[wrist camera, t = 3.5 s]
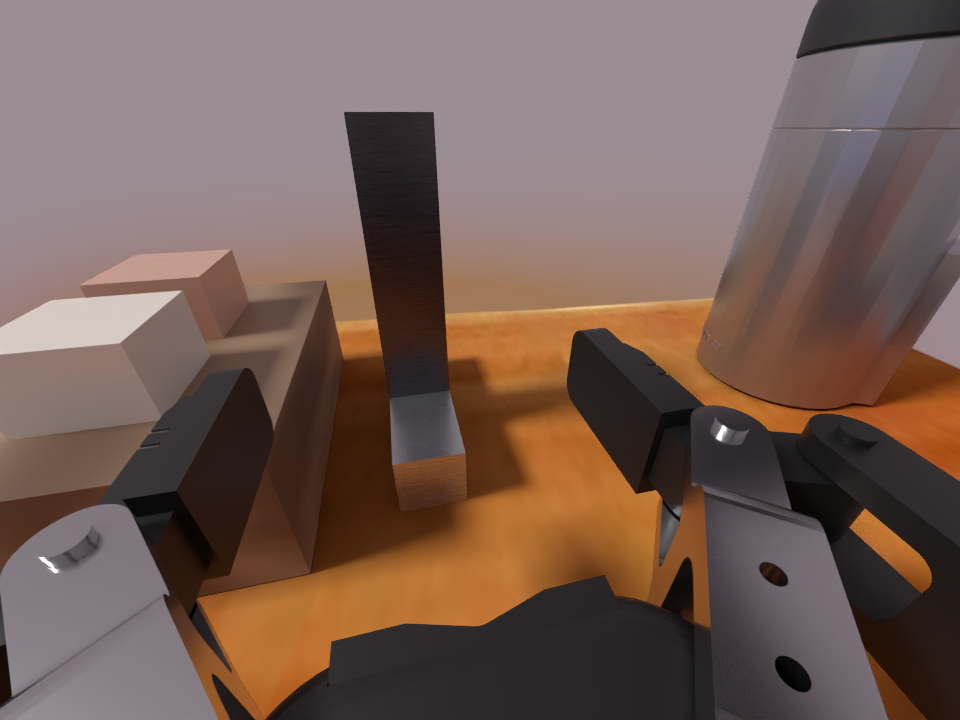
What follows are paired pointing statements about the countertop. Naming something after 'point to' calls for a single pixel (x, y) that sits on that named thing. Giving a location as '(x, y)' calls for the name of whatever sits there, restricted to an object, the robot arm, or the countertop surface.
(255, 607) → the countertop surface
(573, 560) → the countertop surface
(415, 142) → the dark grey tall part
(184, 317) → the white block
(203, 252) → the pink block
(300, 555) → the marbled brown box
